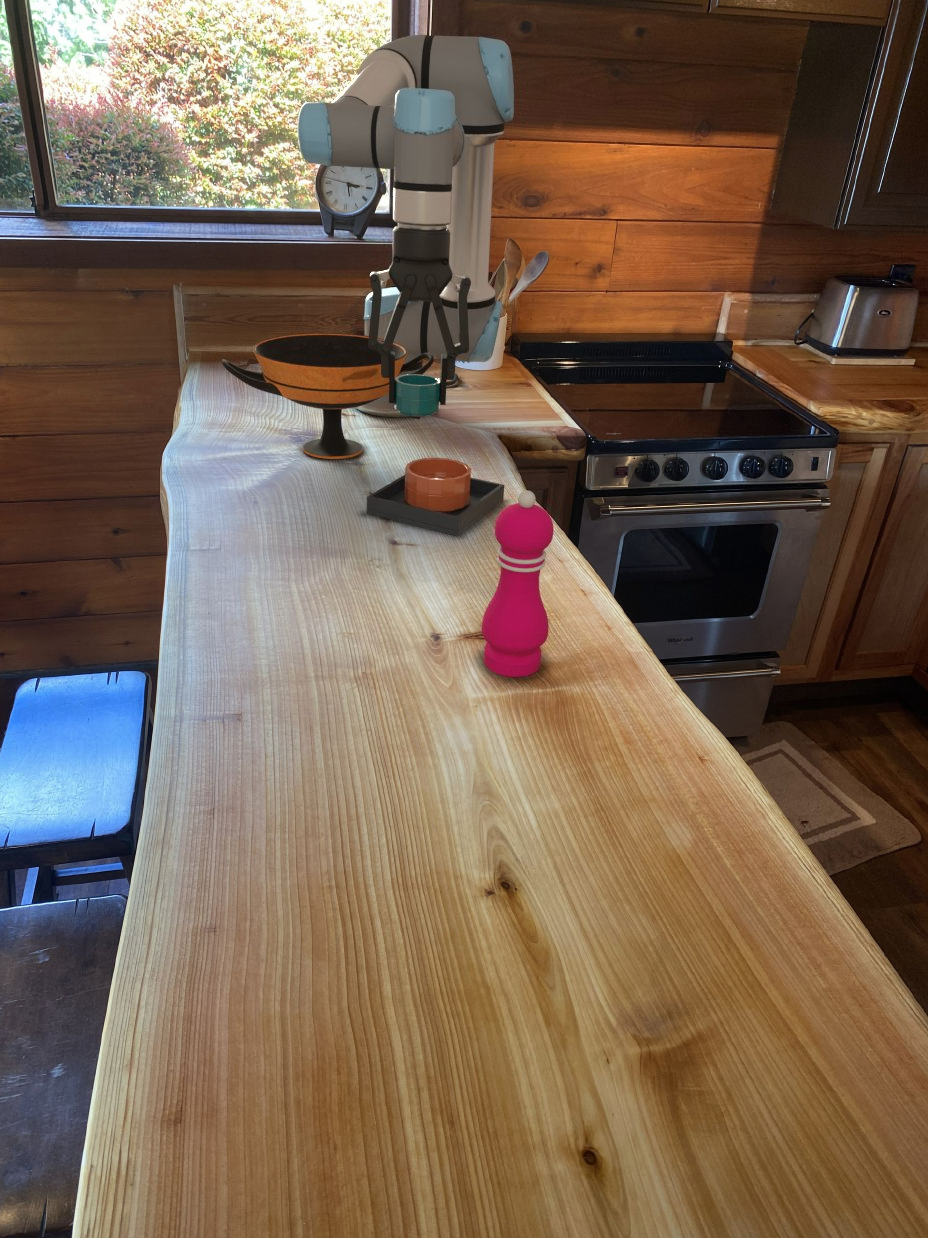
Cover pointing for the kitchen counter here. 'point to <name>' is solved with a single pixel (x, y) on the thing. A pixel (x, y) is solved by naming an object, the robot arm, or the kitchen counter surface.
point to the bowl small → (417, 395)
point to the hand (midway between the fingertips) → (417, 400)
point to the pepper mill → (518, 590)
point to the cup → (324, 379)
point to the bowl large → (437, 484)
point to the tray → (396, 508)
